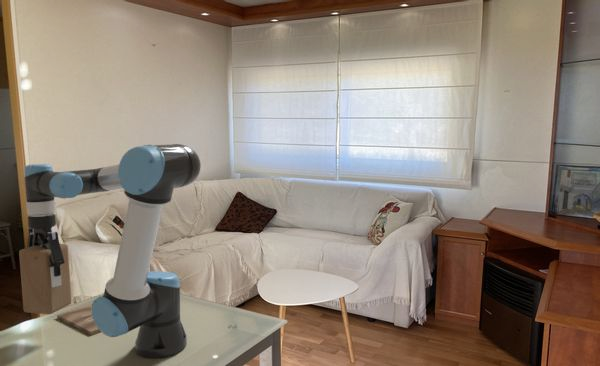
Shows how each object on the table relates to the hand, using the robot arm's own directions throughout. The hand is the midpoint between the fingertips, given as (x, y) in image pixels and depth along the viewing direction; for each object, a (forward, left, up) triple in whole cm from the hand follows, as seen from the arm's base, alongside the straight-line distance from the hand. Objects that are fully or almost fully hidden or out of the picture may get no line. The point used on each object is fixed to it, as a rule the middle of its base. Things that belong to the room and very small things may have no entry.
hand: (46, 282), depth 144 cm
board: (+2, -16, -19) cm, 24 cm away
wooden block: (0, 0, -9) cm, 9 cm away
